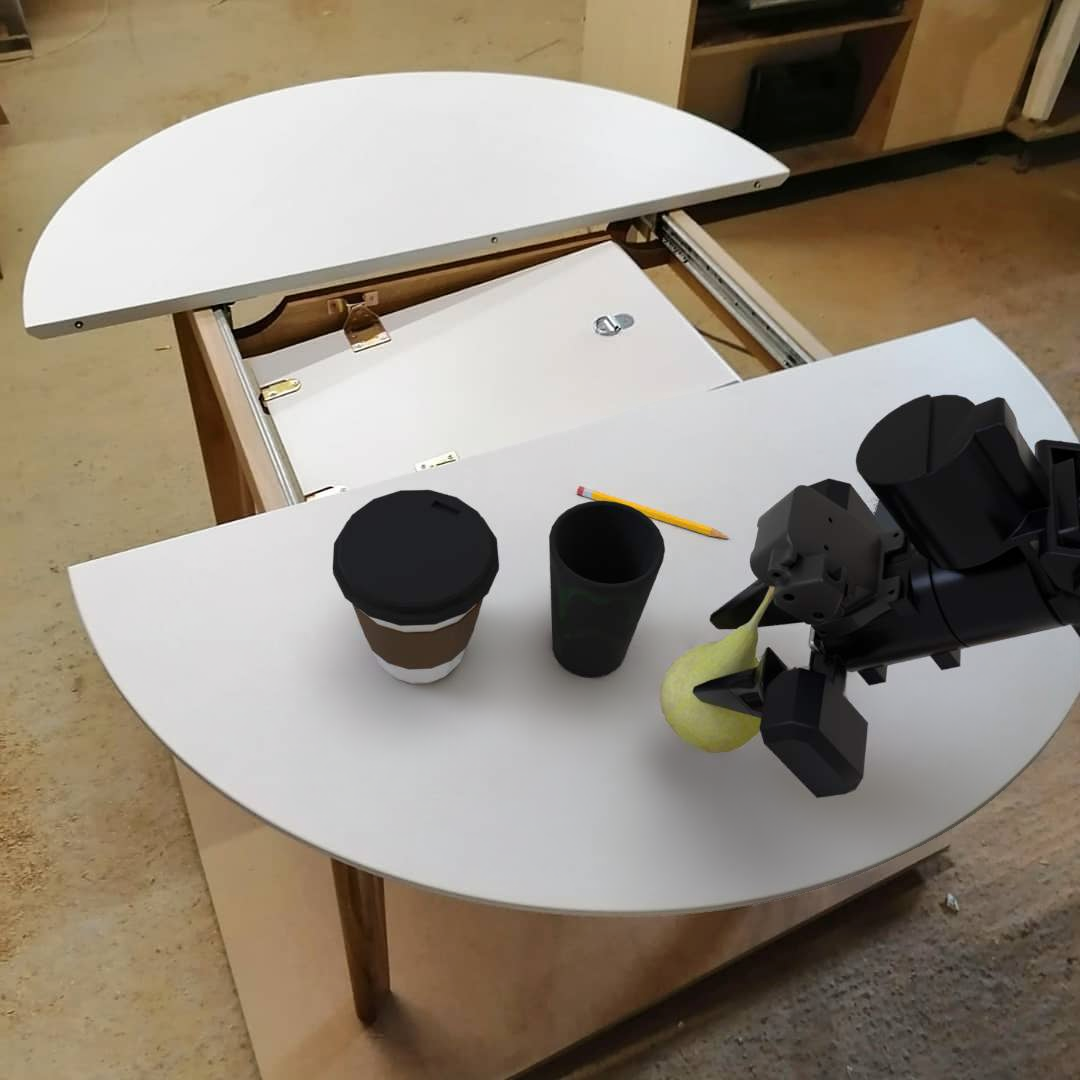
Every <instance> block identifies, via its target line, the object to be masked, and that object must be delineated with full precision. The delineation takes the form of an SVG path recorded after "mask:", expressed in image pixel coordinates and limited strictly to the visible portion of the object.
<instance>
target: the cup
mask: <svg viewBox="0 0 1080 1080" xmlns="http://www.w3.org/2000/svg"><path fill="white" fill-rule="evenodd" d="M548 545H549V547H548V548H549V582H550V585H549V586H550V589H549V590H550V617H551V618H550V619H551V620H550V621H551V650H552V654H553V657H554V658H555V660H556V661H557V663H558V664H559V665H560V666H561V667H562V668H563V669H564V670H565V671H567V672H568V673H570V674H572V675H575V676H578V677H581V678H587V679H595V678H596V679H597V678H602V677H606V676H608V675H610V674H612V673H613V672H615V671H616V670H618V668H619V667H621V665H622V663H623V661H624V660H625V659H626V658H625V657H626V655H627V653H628V650H629V647H630V645H631V642H632V640H633V637H634V635H635V632H636V630H637V627H638V625H639V622H640V620H641V617H642V615H643V612H644V610H645V607H646V605H647V602H648V600H649V597H650V594H651V592H652V590H653V587H654V584H655V583H656V579H657V578H658V575H659V572H660V570H661V567H662V564H663V562H664V558H665V552H666V546H665V540H664V537H663V535H662V532H661V529H659V527H658V526H657V525H656V523H655V522H654V521H653V520H652V518H651V517H648V516H646V515H645V514H643V513H642V512H640V511H639V510H637V509H635V508H633V507H631V506H628V505H625V504H621V503H618V502H612V501H597V500H591V501H586V502H582V503H579V504H576V505H574V506H572V507H570V508H568V509H565V511H564V512H562V513H561V514H560V515H559V516H558V517H557V518H556V519H555V520H554V522H553V524H552V526H551V529H550V532H549V535H548Z"/></svg>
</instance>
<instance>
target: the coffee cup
mask: <svg viewBox="0 0 1080 1080" xmlns="http://www.w3.org/2000/svg"><path fill="white" fill-rule="evenodd" d="M332 553H333V554H332V575H333V577H334V579H335V581H336V583H337V585H338V587H339V589H340V592H341V593H342V595H343V598H344V599H345V600H347V601H348V602H349V603H350V604H351V605H352V607H353V610H354V612H355V615H356V617H357V620H358V622H359V625H360V628H361V631H362V632H363V635H364V637H365V639H366V642H367V643H368V646H369V648H370V649H371V651H372V652H373V654H374V656H375V658H376V660H377V662H378V664H379V666H380V667H381V668H382V669H383V670H385V671H386V672H387V673H388V674H390V676H392V677H394V678H395V679H396V680H398V681H402V682H405V683H409V684H411V685H416V684H419V685H420V684H431V683H434V682H436V681H438V680H441V679H443V678H445V677H446V676H447V675H449V674H450V673H451V672H452V671H453V670H454V669H455V668H456V667H457V666H459V664H460V663H461V661H462V659H463V656H464V654H465V652H466V650H467V647H468V645H469V643H470V640H471V638H472V636H473V634H474V631H475V628H476V625H477V621H478V618H479V615H480V611H481V608H482V605H483V602H484V598H485V597H486V596H487V595H488V594H489V593H490V590H491V588H492V586H493V584H494V582H495V580H496V577H497V574H498V573H499V569H500V559H499V545H498V539H497V537H496V535H495V533H494V532H493V530H492V529H491V527H490V525H488V523H487V521H486V520H485V518H484V517H483V516H482V515H481V514H480V512H479V511H478V510H477V509H475V508H473V507H472V506H471V505H469V504H468V503H466V502H465V501H463V500H462V499H460V498H459V497H457V496H454V495H451V494H446V493H444V492H439V491H436V490H432V489H402V490H401V489H400V490H397V491H394V492H391V493H387V494H385V495H381V496H378V497H376V498H372V499H371V500H370V501H368V502H367V503H366V504H364V505H363V506H361V507H360V508H359V509H358V510H356V511H355V512H354V513H351V515H350V516H349V519H347V521H346V523H345V524H344V526H343V528H342V529H341V531H340V532H339V534H338V536H337V537H336V539H335V541H334V543H333V552H332Z"/></svg>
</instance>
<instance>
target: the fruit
mask: <svg viewBox="0 0 1080 1080" xmlns="http://www.w3.org/2000/svg"><path fill="white" fill-rule="evenodd" d="M774 591H775V587H773V586H770V587H769V590H768V592H767V594H766V597H765V599H764V601H763V602H762V604H761V605H760V607H759V608H758V610H757V612H756V613H755V615H754V616H753V618H752V619H751V620H750V621H749V622H748V623H747V624H745V625H743V626H740V627H739V628H737V629H734V630H733V632H731V633H729V634H728V635H726V636H725V637H723V638H722V639H720V640H719V641H713V642H706V643H702V644H699V645H696V646H693V648H690V649H688V650H687V651H686V652H684V653H683V654H681V656H679V657H678V658H677V659H675V661H673V662H672V663H671V665H670V666H669V667H668V668H667V670H666V671H665V673H664V675H663V678H662V682H661V684H660V689H659V703H660V708H661V713H662V715H663V717H664V720H665V721H666V723H667V724H668V726H669V727H670V729H671V730H672V731H673V733H674V734H675V735H676V736H677V737H678V738H679V739H681V740H682V741H684V742H685V743H687V744H688V745H690V746H691V747H692V748H695V749H696V750H699V751H702V752H705V753H709V754H725V753H726V754H727V753H730V752H733V751H735V750H737V749H738V748H741V747H742V746H744V745H745V744H747V743H748V742H750V741H751V740H753V738H755V737H756V736H757V735H758V734H759V732H760V722H761V718H758V717H754V716H751V715H747V714H743V713H740V712H736V711H732V710H729V709H725V708H721V707H718V706H714V705H711V704H707V703H703V702H701V701H700V700H699V699H698V698H697V697H696V696H695V695H694V694H693V688H694V687H695V686H697V685H699V684H702V683H704V682H706V681H709V680H711V679H715V678H718V677H722V676H725V675H729V674H732V673H736V672H739V671H743V670H747V669H750V668H754V667H757V666H758V665H759V663H760V661H759V659H758V658H757V657H756V654H757V647H758V646H757V645H758V641H759V629H758V628H759V627H758V623H759V621H760V619H761V617H762V615H763V613H764V611H765V609H766V608H767V606H768V604H769V603H770V602H771V600H772V599H773V596H774Z"/></svg>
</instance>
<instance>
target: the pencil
mask: <svg viewBox="0 0 1080 1080" xmlns="http://www.w3.org/2000/svg"><path fill="white" fill-rule="evenodd" d="M576 495H578V496H581V497H585V498H587V499H590V500H593V501H612V502H618V503H621V504H625V505H628V506H631V507H633V508H635V509H637V510H639V511H640V512H642V513H643V514H645V515H646V516H647V517H648V518H650V519H654V520H657V521H661V522H664V523H667V524H669V525H673V526H676V527H679V528H683V529H685V530H689V531H692V532H695V533H699V534H702V535H704V536H708V537H712V538H713V537H714V538H720V539H731V537H730V536H728V535H726V534H725V533H723V532H721V531H719V530H717V529H716V528H714V527H711V526H708V525H705V524H702V523H699V522H696V521H692V520H689V519H686V518H683V517H680V516H676V515H673V514H670V513H668V512H663V511H660V510H658V509H654V508H651V507H648V506H644V505H641V504H639V503H635V502H633V501H629V500H626V499H622V498H619V497H616V496H613V495H610V494H607V493H604V492H600V491H598V490H594V489H591V488H588V487H584V486H582V485H579V486H578V488H577V491H576Z"/></svg>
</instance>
